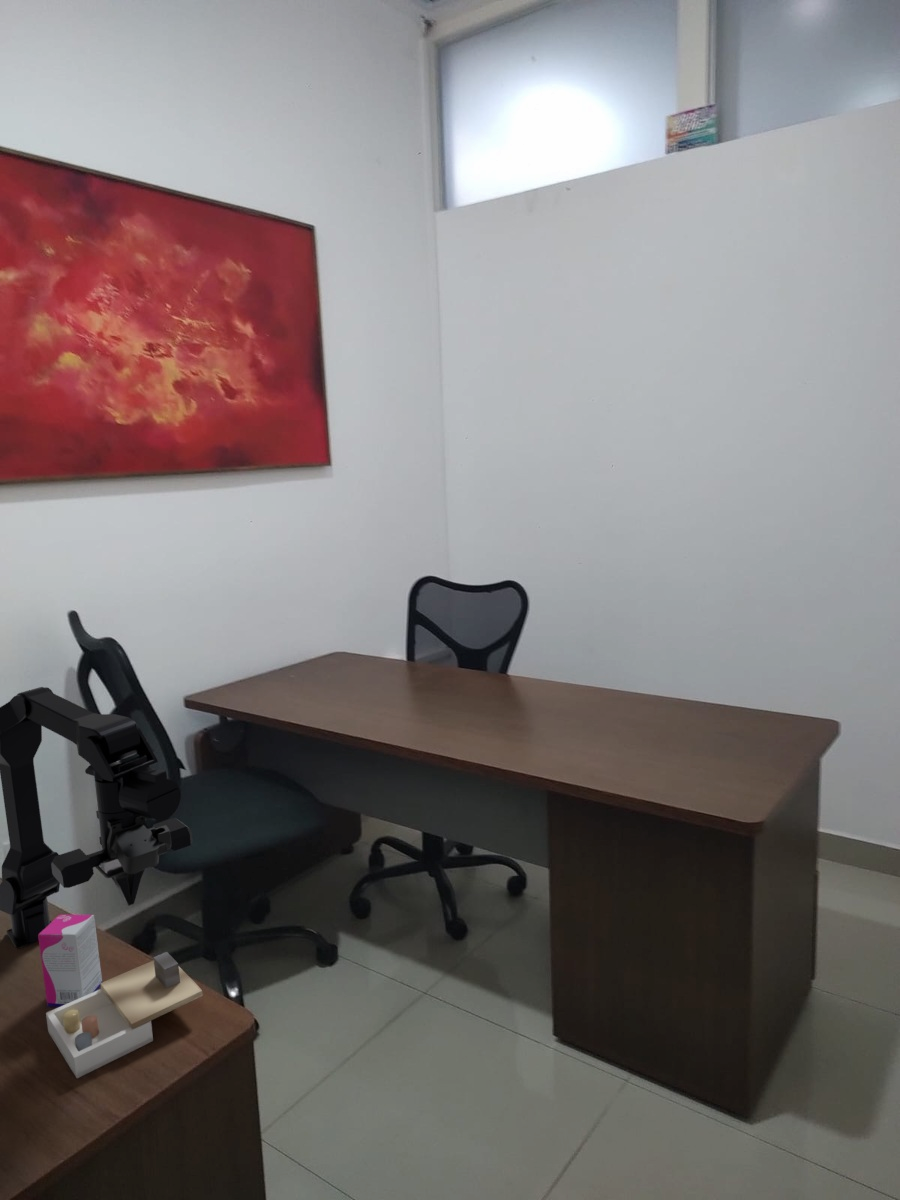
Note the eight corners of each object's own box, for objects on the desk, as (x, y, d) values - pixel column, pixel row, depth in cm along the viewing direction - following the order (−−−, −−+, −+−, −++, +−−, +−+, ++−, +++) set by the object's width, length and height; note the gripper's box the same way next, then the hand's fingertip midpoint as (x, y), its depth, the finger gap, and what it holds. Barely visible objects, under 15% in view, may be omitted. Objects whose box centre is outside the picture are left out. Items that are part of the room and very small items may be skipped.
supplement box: (104, 982, 127) (95, 913, 125) (83, 1008, 121) (74, 936, 119) (67, 981, 127) (58, 912, 125) (45, 1007, 121) (35, 935, 119)
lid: (100, 988, 120) (97, 964, 120) (167, 959, 127) (165, 936, 126) (132, 1029, 111) (129, 1003, 111) (202, 995, 118) (200, 971, 117)
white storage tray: (48, 1032, 116) (45, 1012, 116) (120, 999, 123) (118, 981, 122) (76, 1078, 107) (74, 1057, 107) (153, 1040, 114) (150, 1021, 113)
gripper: (70, 845, 109) (83, 953, 112) (204, 802, 121) (213, 901, 124) (44, 818, 117) (57, 920, 120) (172, 781, 129) (181, 874, 132)
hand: (130, 904), depth 124 cm, fingers closed
